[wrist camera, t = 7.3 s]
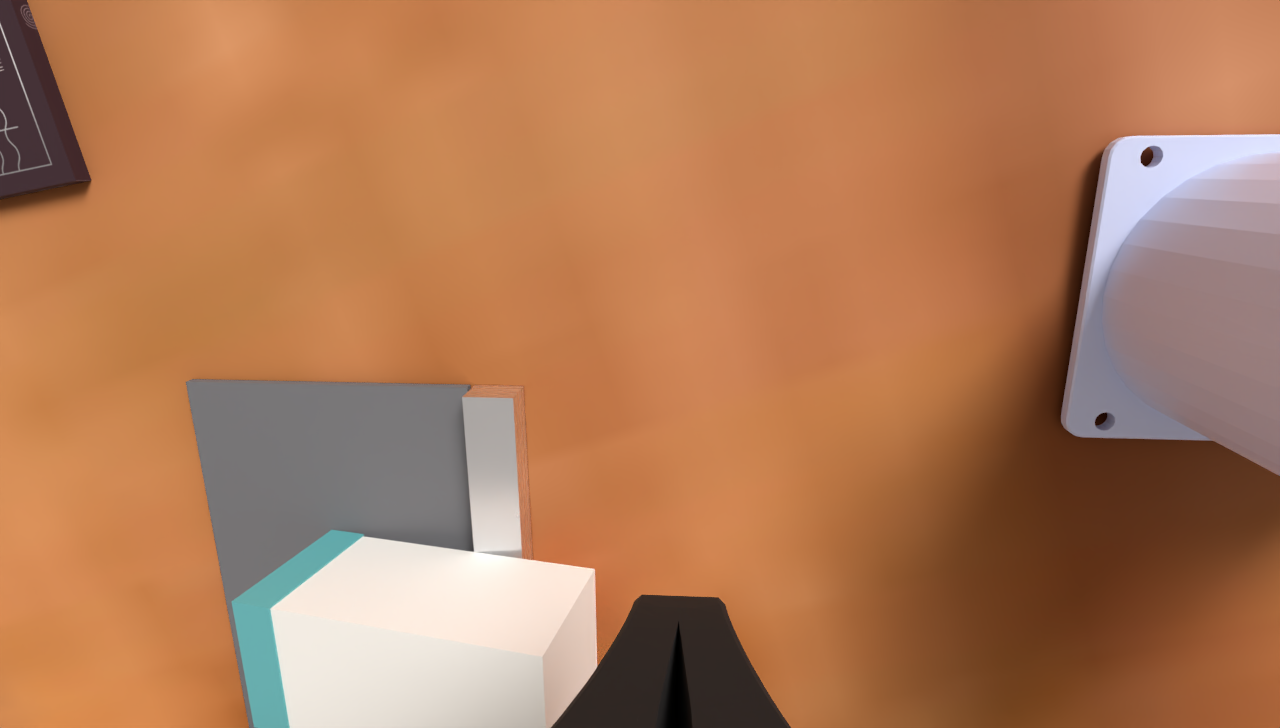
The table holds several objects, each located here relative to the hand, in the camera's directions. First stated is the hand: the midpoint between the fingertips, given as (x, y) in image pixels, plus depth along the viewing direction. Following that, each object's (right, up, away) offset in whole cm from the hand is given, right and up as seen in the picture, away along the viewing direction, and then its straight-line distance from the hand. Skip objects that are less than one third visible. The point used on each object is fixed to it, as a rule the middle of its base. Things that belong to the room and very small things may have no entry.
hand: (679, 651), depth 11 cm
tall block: (-2, -4, +8) cm, 9 cm away
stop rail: (-5, -3, +12) cm, 13 cm away
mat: (-10, -3, +13) cm, 16 cm away
